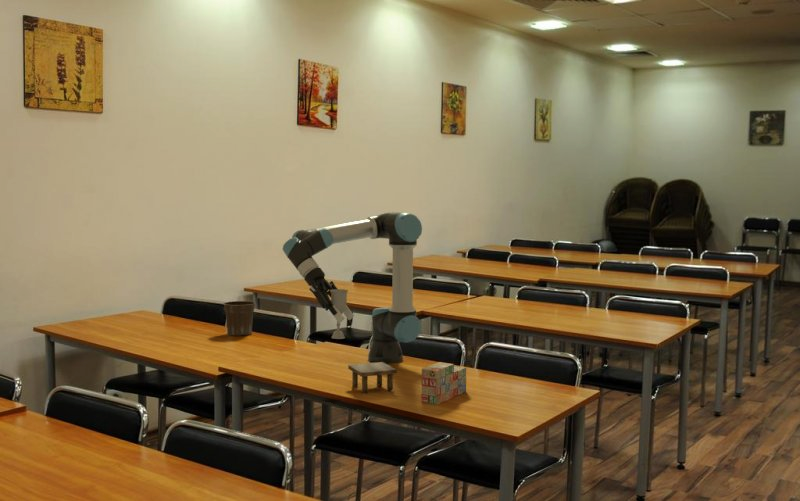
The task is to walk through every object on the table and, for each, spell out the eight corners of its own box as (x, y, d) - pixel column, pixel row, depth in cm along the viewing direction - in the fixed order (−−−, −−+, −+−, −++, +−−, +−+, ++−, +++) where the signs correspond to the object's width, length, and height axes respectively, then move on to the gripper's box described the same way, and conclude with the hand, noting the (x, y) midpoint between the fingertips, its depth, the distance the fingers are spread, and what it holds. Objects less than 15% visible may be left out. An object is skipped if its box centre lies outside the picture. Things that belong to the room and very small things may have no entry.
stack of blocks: (451, 389, 299) (452, 357, 298) (466, 392, 296) (466, 359, 295) (421, 402, 282) (421, 367, 281) (436, 405, 278) (436, 370, 277)
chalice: (343, 340, 299) (344, 292, 298) (326, 338, 301) (327, 291, 299) (349, 336, 307) (350, 289, 305) (332, 335, 308) (333, 288, 306)
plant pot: (230, 330, 418) (229, 300, 417) (259, 331, 416) (259, 301, 415) (218, 336, 402) (218, 304, 401) (249, 337, 400) (249, 305, 399)
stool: (382, 382, 310) (382, 362, 309) (396, 390, 297) (397, 369, 296) (348, 385, 304) (348, 365, 303) (361, 394, 291) (361, 372, 290)
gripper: (319, 276, 317) (353, 321, 311) (291, 281, 300) (326, 329, 294) (331, 264, 314) (366, 309, 308) (302, 268, 297) (339, 316, 291)
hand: (346, 319), depth 301 cm, fingers closed on chalice, 6 cm apart
